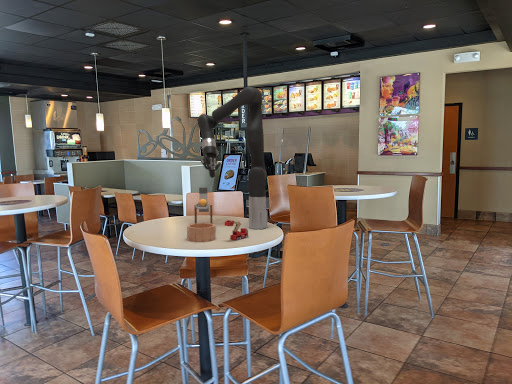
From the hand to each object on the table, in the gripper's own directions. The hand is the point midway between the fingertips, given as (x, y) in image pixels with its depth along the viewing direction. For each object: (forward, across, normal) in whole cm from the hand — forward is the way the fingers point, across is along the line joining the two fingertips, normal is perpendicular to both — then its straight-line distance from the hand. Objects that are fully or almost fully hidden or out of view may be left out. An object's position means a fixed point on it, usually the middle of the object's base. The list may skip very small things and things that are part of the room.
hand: (212, 177), depth 208 cm
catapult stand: (+30, +5, -6) cm, 30 cm away
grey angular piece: (+21, +8, 0) cm, 22 cm away
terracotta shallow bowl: (+36, +15, +5) cm, 39 cm away
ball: (+16, +10, +2) cm, 19 cm away
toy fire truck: (+39, +4, +17) cm, 43 cm away
